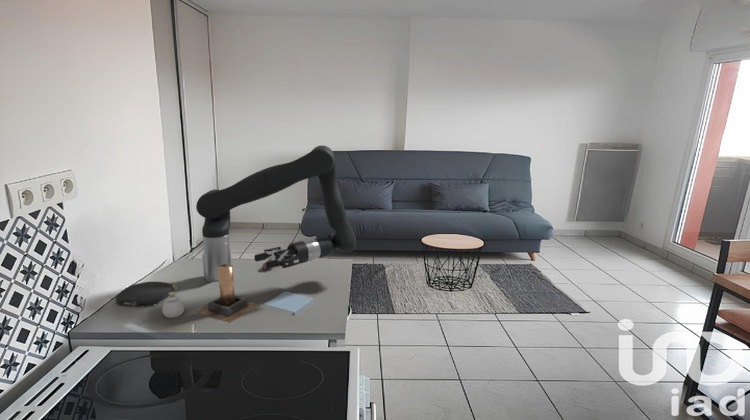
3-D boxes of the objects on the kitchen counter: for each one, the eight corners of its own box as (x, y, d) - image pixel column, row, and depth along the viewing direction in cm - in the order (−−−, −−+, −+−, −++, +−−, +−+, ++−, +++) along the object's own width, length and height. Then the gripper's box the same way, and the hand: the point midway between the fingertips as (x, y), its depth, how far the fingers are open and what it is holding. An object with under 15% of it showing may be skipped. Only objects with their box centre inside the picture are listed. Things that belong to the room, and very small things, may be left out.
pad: (264, 307, 140) (264, 304, 140) (285, 294, 150) (285, 291, 149) (294, 315, 135) (294, 312, 135) (314, 301, 145) (314, 298, 144)
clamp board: (196, 314, 134) (195, 304, 133) (227, 298, 146) (226, 289, 145) (230, 325, 128) (229, 314, 127) (259, 307, 140) (259, 297, 139)
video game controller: (270, 274, 171) (277, 259, 169) (260, 268, 171) (267, 254, 169) (280, 265, 180) (287, 251, 178) (271, 259, 180) (277, 246, 178)
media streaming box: (178, 290, 152) (177, 282, 152) (152, 309, 138) (151, 300, 138) (140, 287, 154) (139, 279, 153) (110, 305, 140) (109, 297, 139)
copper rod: (217, 309, 136) (214, 267, 132) (228, 304, 140) (225, 263, 136) (228, 312, 134) (225, 270, 130) (238, 306, 138) (235, 265, 134)
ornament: (159, 322, 130) (156, 291, 127) (170, 310, 137) (167, 281, 134) (180, 322, 130) (177, 291, 127) (189, 310, 137) (186, 281, 135)
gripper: (293, 236, 155) (250, 245, 145) (314, 246, 144) (269, 256, 134) (294, 256, 157) (252, 266, 147) (315, 267, 146) (270, 279, 136)
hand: (260, 262), depth 140 cm, fingers open, 8 cm apart
